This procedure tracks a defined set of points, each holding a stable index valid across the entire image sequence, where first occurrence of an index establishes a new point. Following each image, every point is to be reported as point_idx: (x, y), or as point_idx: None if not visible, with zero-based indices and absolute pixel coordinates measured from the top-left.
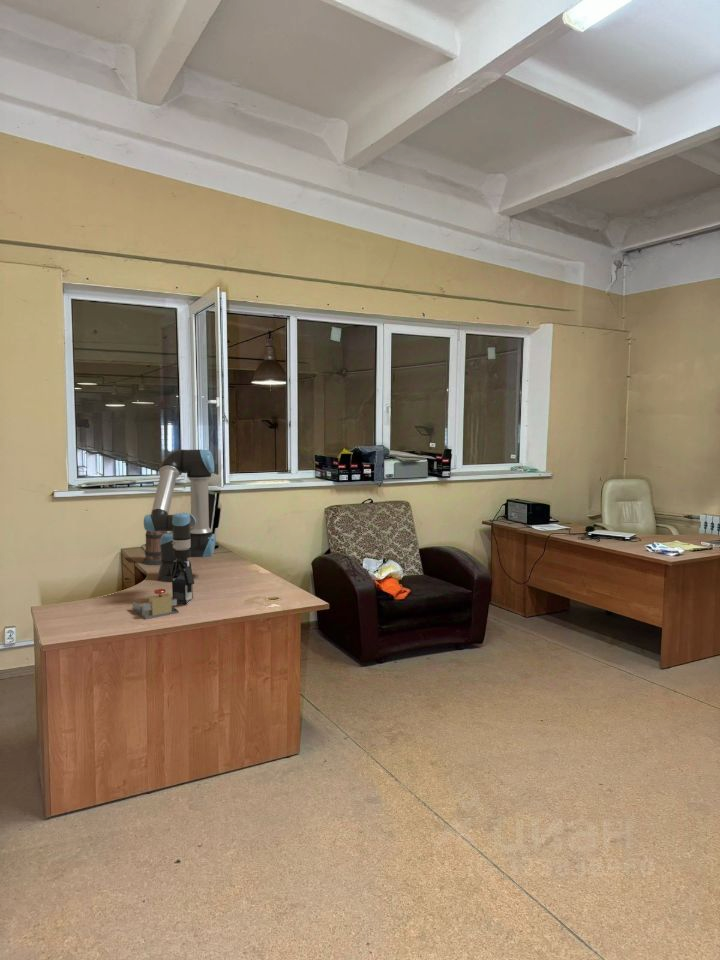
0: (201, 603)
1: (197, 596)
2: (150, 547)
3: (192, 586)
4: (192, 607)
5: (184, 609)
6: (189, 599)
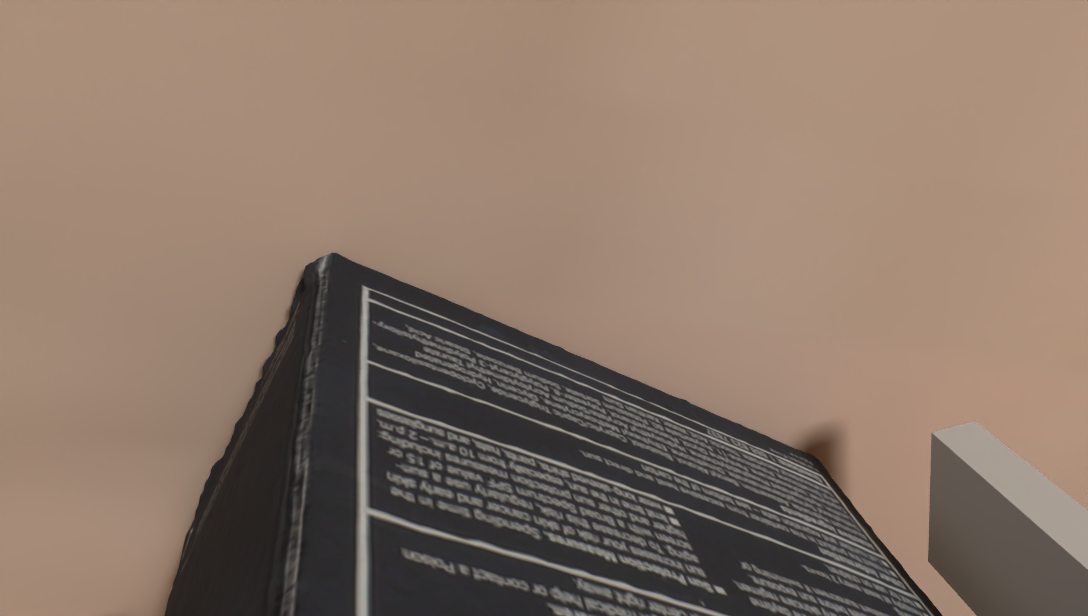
0: (908, 130)
1: (171, 92)
2: None
3: (323, 455)
4: (1052, 365)
5: None
6: (647, 403)
